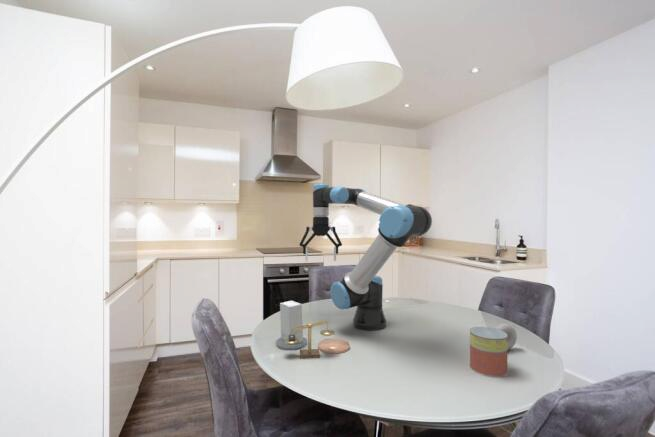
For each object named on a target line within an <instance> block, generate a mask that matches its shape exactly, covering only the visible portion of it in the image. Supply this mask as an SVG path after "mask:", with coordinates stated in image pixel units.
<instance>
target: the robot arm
mask: <svg viewBox="0 0 655 437" xmlns="http://www.w3.org/2000/svg"><path fill="white" fill-rule="evenodd" d="M329 204H331V205H332V204H336V205H337V204H339V205H340V204H341V205H354V206H357V207H360V208H362V209H364V210H367V211H370V212H372V213H374V214H377V215H379V219H378V222H379V223H378V228H377V231H378V235H377V236H376V237H375V238H374V240H373V242H372V243H371V244H370V246H369V247H368V249H367V250H366V251H365V253H364V254H363V256H362V257H361V258H360V260H359V261H358V262H357V264H356V265H355V267H354V268H353V270H352V271H349V272H347V273H345V275H344V276H343V277H342V278H341V280H340V281H335V282H333V283H332V284H331V286H330V290H329V291H330V298H331V301H332V303H333V305H334V306H335V307H336V308H337V309H339V310H348V309H352V308H355V307H356V310H355V312H354V317H353V318H352V325H353V326H354V327H355V328H356V329H360V330H365V331H379V330H384V329H385V328H386V327H387V320H386V316H385V313H384V309H383V292H384V291H383V288H384V287H383V286H384V284H383V278H382V277H381V276H379V275H377V274H378V273H379V271H380V270H381V269H382V268H383V267H384V265H385V264H386V263H387V261H388V260H389V259H390V257H391V256H392V255H393V254H394V253H395V251H396V250H397V248H403V247H404V246H405V245H406V243H407V242H408V241H409V240H410V239H411V237H413V238H414V237H420V236H423V235H425V234H427V233H428V231H429V230H430V229H431V227H432V225H433V224H432V222H433V220H432V219H433V218H432V215H431V213H430V212H429V210H427V209H426V208H425V207H422V206H419V205H418V206H417V205H413V204H410V203H408V204H406V205H405V204H403V203H401V202H396V201H394V200H391V199H388V198H385V197H382V196H379V195H376V194H373V193H371V192H367V191H366V190H364V189H362V188H352V187H351V188H350V187H345V186H341V185H340V186H339V185H338V186H332V187H331V186H330V187H329V184H327V183H314V185H313V188H312V216H313V217H312V227H310V226H306V229H305V232H304V234H303V237H301V240H300V242H299V246H300V247H302V250H303V251H302V253H303V255H305V262H308V245H309V244H310V242H311V241H312V240H313V239H314V238H315V237H316V236H317V237H325V236H326V237H327V239H329V240H330V242H331V243H332V244H333V245H334V246H333V261H334V262H336V261H337V255H338V254H339V247H341V246H343V243H342V241H341V239H340V238H339V235H338V233H337V231H336V226H329V225H330V223H329V222H330V221H329V219H330V218H329V215H330V214H329V212H330V209H329V207H330V206H329ZM311 231H312V232H313V233H312V234H311V235H310V236H309V238H308V239H307V240H306V238H307V236H308V234H309V232H311ZM329 231H331V232H332V233H333V236H334V238H335V239H336V241H335V240H334V239H333V238H332V236H331V235H330V234H329ZM305 240H306V241H305ZM304 242H305V243H304Z"/></svg>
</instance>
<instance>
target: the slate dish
mask: <svg viewBox="0 0 655 437" xmlns="http://www.w3.org/2000/svg"><path fill="white" fill-rule="evenodd" d="M275 343H276V344H275V345H276V346H275V347H277V348H278V349H281V350H284V351H297V350H302V349H304V348H305V347H307V346H308V338H306V337H304V336H303V342H302V343H297V344H293V345H290V344H286V343H285V341H283V340H282V339H281V337H279V338H277V339H276V341H275Z"/></svg>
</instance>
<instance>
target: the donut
mask: <svg viewBox="0 0 655 437" xmlns="http://www.w3.org/2000/svg"><path fill="white" fill-rule="evenodd" d="M494 329H498V330H501V331H504V332H505V333H507V334H508V351H509V350H511V349H512V348H513V347H514V346H515V345H516V342H517V339H518V335H517V331H516V329H515V327H514V326H513V325H511V324H509V323H500V324H498V325H497V326H496V327H495V328H494Z"/></svg>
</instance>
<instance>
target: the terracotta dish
mask: <svg viewBox="0 0 655 437" xmlns="http://www.w3.org/2000/svg"><path fill="white" fill-rule="evenodd" d="M317 349H319V352H322V353H326V354H331V355H332V354H334V355H335V354H336V355H337V354H338V355H339V354H342V353H346V352H348V351H349V350H350V343H349V341H347V340H345V339H341V338H334V337H333V338H325V339H321V340H319V342H317Z"/></svg>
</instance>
